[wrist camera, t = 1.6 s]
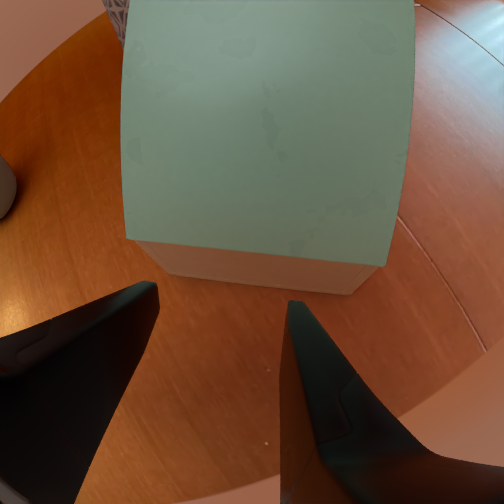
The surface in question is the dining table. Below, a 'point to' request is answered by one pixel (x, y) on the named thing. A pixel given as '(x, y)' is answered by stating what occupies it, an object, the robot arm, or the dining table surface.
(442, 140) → the dining table surface
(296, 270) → the cream square box
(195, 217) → the lid
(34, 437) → the robot arm
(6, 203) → the cup
